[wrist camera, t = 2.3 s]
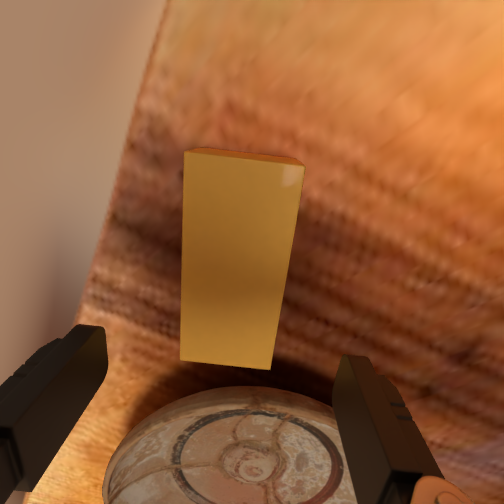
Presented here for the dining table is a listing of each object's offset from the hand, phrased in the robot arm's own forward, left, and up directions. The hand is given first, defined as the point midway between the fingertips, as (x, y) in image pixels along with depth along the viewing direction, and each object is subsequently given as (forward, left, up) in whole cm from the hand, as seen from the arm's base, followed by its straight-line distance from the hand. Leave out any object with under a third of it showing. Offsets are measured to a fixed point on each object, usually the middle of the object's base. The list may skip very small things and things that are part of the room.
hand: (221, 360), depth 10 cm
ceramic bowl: (+20, +3, -10) cm, 22 cm away
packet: (0, 0, -10) cm, 10 cm away
